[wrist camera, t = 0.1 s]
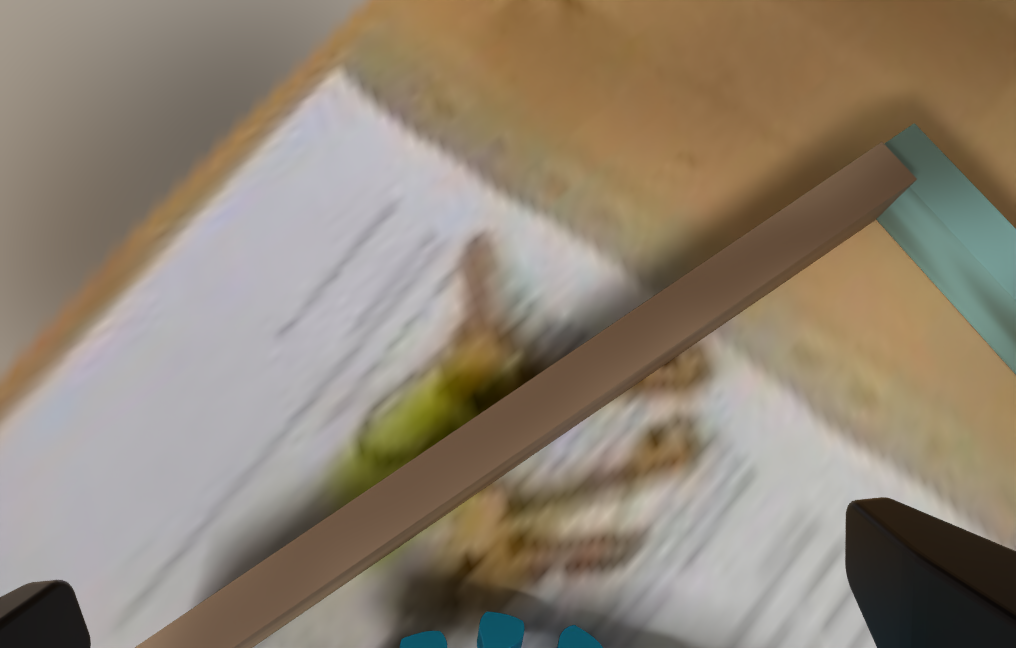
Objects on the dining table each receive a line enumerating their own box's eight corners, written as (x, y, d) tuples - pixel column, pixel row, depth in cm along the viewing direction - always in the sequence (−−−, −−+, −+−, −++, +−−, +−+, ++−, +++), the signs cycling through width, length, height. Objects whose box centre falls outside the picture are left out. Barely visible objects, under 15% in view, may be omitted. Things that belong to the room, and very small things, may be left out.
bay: (1268, 580, 21) (1381, 590, 18) (453, 1207, 19) (432, 1332, 16) (881, 161, 25) (921, 114, 22) (178, 639, 23) (121, 657, 20)
